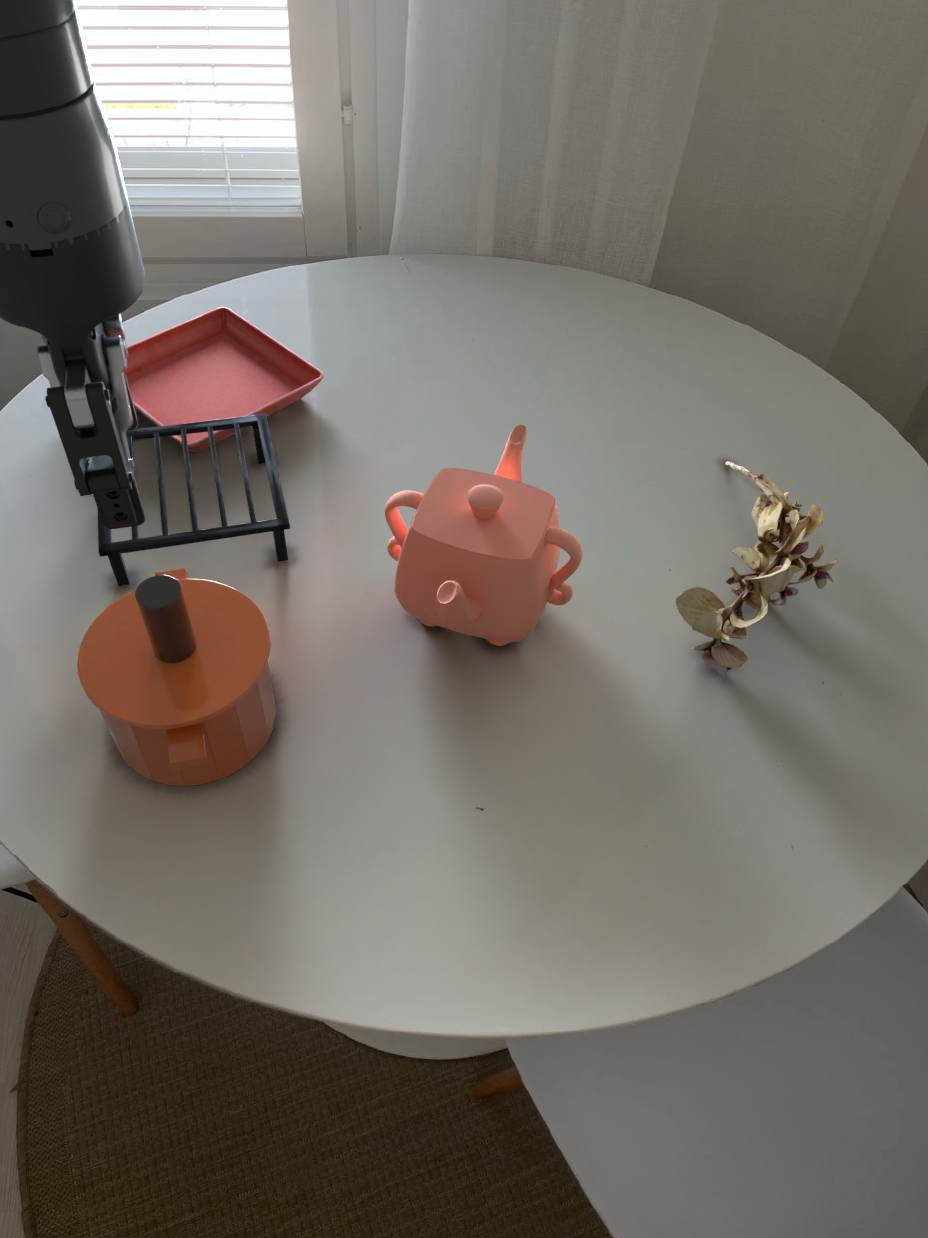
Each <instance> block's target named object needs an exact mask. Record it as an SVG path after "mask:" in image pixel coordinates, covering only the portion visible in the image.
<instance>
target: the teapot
mask: <svg viewBox="0 0 928 1238" xmlns="http://www.w3.org/2000/svg"><path fill="white" fill-rule="evenodd" d="M527 435H528V430H527V427H526V425H524V424H517V425H516V426H515V427H514V428H513V429H512V430H511V432H510V434H509V436H508V439H507V441H506V444H505V446H504V450H503V453H502V455H501V457H500V460H499V463H498V465H497V467H496V469H495V471H494V473H493V474H492V473H488V472H483V471H477V470H471V469H465V468H459V467H445V468H441V469H440V470H439V471H438V472H437V473H436V474H435V476H434V477H433V479H432V480H431V482H430V483H429V485H428V488H427V489H426V491H425V493H422V492H420V491H416V490H409V489H408V490H400V491H398V492H396V493H394V494H393V495H391V496H390V497H389V499H388V500H387V502H386V504H385V506H384V517H385V521H386V523H387V525H388V527H389V530H390V531H391V533H392V535H393V536H392V537H391V538H390V539H389V540H388V542H387V553H388V555H389V556H390V558H392V559H393V560H394V561H396V569H395V577H394V594H395V597H396V599H397V601H398V603H399V604H400V606H401V607H402V608H403V609H404V611H406V612H407V613H409V614H410V615H412V616H414V617H417V619H418V621H419V622H420V623H421V624H422V625H425V626H427V627H440V628H443V629H446V630H449V631H452V632H456V633H459V634H463V635H467V636H471V637H475V638H480V639H481V638H482V639H485V640H486V641H487V642H488V643H490V644H491V645H494V646H498V647H499V646H500V647H501V646H506V645H508V644H510V643H518V642H522V641H525V640H526V639H527V638H528V637H529V635H530V634H531V633H532V632H533V631H534V630H535V628H536V626H537V624H538V622H539V620H540V618H541V616H542V614H543V612H544V610H545V607H546V605H547V603H548V604H549V605H553V606H564V605H566V604H568V603H569V602H570V601H571V599H572V597H573V593H574V589H573V587H572V585H571V584H570V583H569V582H566V581H567V580H568V579H569V578H571V577H572V575H574V573H575V572H576V571H577V570H578V568H579V567H580V565H581V562H582V560H583V548H582V545H581V543H580V541H578V539H577V538H576V537H575V536H574V535H573V534H572V533H570V532H568V531H567V530H565V529H562V528H561V525H560V517H559V511H558V506H557V502H556V498H555V497H554V495H552V494H551V493H549V492H547V491H545V490H544V489H541V488H539V487H536V486H533V485H530V484H528V483H524V482H523V473H522V469H523V468H522V467H523V466H522V465H523V464H522V461H523V453H524V447H525V444H526V440H527ZM399 507H407V508H410V509H414V510H415V511H414V515H413V517H412V519H411V522H410V524H409V527H407V525H406V523H405V522H404V520H403V518H402V516H401V513H400V510H399ZM561 550H563V551H565V552H566V553H567V554H568V555H569V557H570V558H569V559H568V561H566V563H565V564H564V565H562V566H561V568H559V569H558V566H559V561H560V555H561Z"/></svg>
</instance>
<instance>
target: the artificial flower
mask: <svg viewBox="0 0 928 1238" xmlns="http://www.w3.org/2000/svg"><path fill="white" fill-rule="evenodd" d="M724 465H725V466H727V467H730V468H731V469H733V470H736V471H738V472H741V473H742V474H745V475H747V477H749V478H750V479H751V481H753V482H754V483H755V484H756V486H757V487H758V488H759V490H760V491H761V492H762V493H763V494H761V495H759V496H758V497H757V498H756V500H755V501H754V505H753V507H752V510H751V513H750V515H751V518H752V520H753V522H754V525H755V528H756V529H757V540H758V541H756V543H755V544H754V546H753V548H752V547H750V546H737V547H735V548H733V549H732V551H731V553H732V554H733V555H735V556H737V557H738V558H739V559H740V560H741V561H743V562H744V563H745V564H746V566H747V567H748V568H749V569H750V570H751V571H752V572H753V573H745V574H739V572H738V571H737V570H736V569H735V567H734V566H732V567H729V569H730V570H731V571H732V572H733V576H731V577H729V578H728V579H726V580H725V583H726V584H728V585H730V586H731V585H734V584H737V585H738V586H739V587H736V588H729V589H728V590H729V591H731V593H733V594H735V596H737V598H736V599H734V601H733V602H731V603H729V604H728V605H727V606H725V604H724V603H723V601H722V600H721V599H720V598H719V597H718V596H717V595H716V594H715V593H714V592H713V591H711V590H709V589H708V588H705V587H699V586H694V587H691V588H688V589H685V590H684V591H682V592H681V593H680V594H679V595H678V596H677V597H676V598H675V606H676V608H677V610H678V613H679V614H680V617H681V618H682V619H683V620H684V622H685V623H686V624H687V625H689V626H690V627H691V628H692V631H694V632H697V633H699V634H702V635H704V636H706V637H708V638H711V639H712V640H711V641H707V642H704V643H702V644H699V645H697V646H694V647H691V649H692V650H694V651H698V652H701V653H703V655H702V663H703V664H704V665H705V666H706V667H709V668H711V669H714V670H715V671H716V672H717V673H718V674H719V675H720V676H722V677H723V676H726V675H727V673H728V672H729V671H730V670H732V669H738V668H740V667H742V666H743V665H744V664H745V663H746V662H747V661H748V660H750V658H749V657H748V656H747V654H746V653H745V652H744V651H743V650H742V649H740V648H738V647H737V646H735V645H734V644H731V643H729V642H728V641H729V639H731V638H732V639H737V640H744V639H745V640H746V639H747V637H748V636H747V627H749V626H752V625H753V624H755V623H757V622H759V621H760V620H761V619H763V618H764V617H765V616H766V614H767V613H768V609H769V608H768V607H769V606H768V605H769V604H770V603H771V604H772V605H773V606H780V607H785V605H786V604H787V597H795V596H797V594H799V589H798V588H796V587H789V586H792V585H793V586H794V585H799V584H803V583H805V582H808V581H810V580H812V579H813V580H814V582H815V585H816V587H817V589H818V590H822V589H824V588H825V587H826V586H827V584H828V582H827V581H828V580H829V581H830V582H831V583H834V579H833V578H832V576H831V574H830V573H829V572H828V571H830V570H831V569H832V568H833V567H834V566H835V563H837V562H838V561H839V560H837V558H835V560H834V561H830V562H827V563H825V564H821V565H817V566H815V565H814V563H815V562H817V561H819V560H820V559H821V557H822V556H823V555H824V553H825V549H824V545H823V541H821V542H820V544H819V547H818V549H817V550H816V552H815V554H814V555H813V556H812V557H806V556H804V555H803V554H804V553H806V552H807V550H808V549H809V541H808V540H807V541H803V542H801V541H802V540H803V539H805V538H807V537H810V536H811V535H812V534H813V533H815V531H817V529H819V528H820V526H821V525H822V524H823V523H824V518H825V516H824V513H823V510H822V509H821V507H819V505H817V504H812V505H810V507H809V510H808V513H807V514H804V513H801V512H800V511H801V508H802V506H803V504H799V503H798V501H797V500H796V501H795V503H794V504H793V503H791V502H790V500H789V494H790V492H789V491H786V492H784V493H783V492H782V491H781V489H779V487H778V486H777V485H776V484H775V482H773V481H772V480H771V479H770V478H769V477H768V476H767V475H766V474H765V473H760V474H759V475H756V474H755V473H753V472H751V471H750V470H749V469H747V468H746V467H745V466H742V465H738V464H736V463H735V462H733V461H730V460H727V461H725V464H724ZM799 521H800V522H799ZM777 532H779V533H778V535H777ZM776 542H778V544H779V546H778V545H776V544H774V543H776ZM801 561H802V562H803V563H804V565H803V563H802V562H801ZM801 571H803V572H802V574H801V576H800V577H799V579H798V580H797V581H796V582H791V579H792V578H793V576H794V574H796V573H798V572H799V573H800V572H801ZM753 576H755V577H754V578H747V577H753ZM827 579H828V580H827ZM776 593H778V594H779V598H775V599H771V596H772V595H774V594H776ZM743 603H744V604H745V605H746V606H748V607H750V608H751V609H753V610H756V611H757V612H758V614H757V615H756V617H754V618H752V619H749V620H745V618H744V614H743V610H742V606H743ZM722 640H723V641H722ZM725 641H727V642H725Z"/></svg>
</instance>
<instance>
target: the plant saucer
mask: <svg viewBox="0 0 928 1238" xmlns="http://www.w3.org/2000/svg"><path fill="white" fill-rule="evenodd" d="M127 351H128V358H127V369H126V371H125V374H126V378H127V381H128V385H129V389H130V392H131V396H132V400H133V404H134V407H135V410H137V411H138V412H139V413H141V414H142V415H143V416H144V417H145V418H147V419H148V420H149V421H151V423H153V424H154V425H155V426H156V427H159V426H167V425H176V424H184V423H193V422H201V421H209V420H218V419H226V418H235V417H243V416H251V415H260V414H266V416H267V417H269V416H271V415H272V414H274V413H276V412H278V411H280V410H283V409H284V408H286V407H288V406H290V405H291V404H294V403H296V402H297V401H299V400H301V399H303V398H304V397H305V396H307V395H308V394H309V393H310V392H311V391H313V390H315V388H316V387H317V386H318V385H319V384H320V383H321V381H322V380H323V379H324V378H325V373H324V372H323V371H322V370H320V369H319V368H318V367H316V366H315V365H313V364H312V363H310V362H309V361H307V360H305V358H303V357H302V356H300V355H298V354H297V353H296V352H294V351H293V350H292V349H289V348H288V347H286V346H285V345H284V344H282V343H280V342H279V341H278V340H276V339H275V338H274V337H272V336H270V335H269V334H268V333H266V332H265V331H263V330H261V329H260V328H259V327H257V326H256V325H254V324H253V323H251V322H250V321H248V320H247V319H245V318H244V317H242V316H241V315H240V314H238V313H237V312H235V311H234V310H232V309H231V308H229V307H228V306H227V307H226V306H219V307H217V308H215V309H212V310H209V311H207V312H205V313H203V314H200V315H198V316H195V317H193V318H190V319H188V320H186V321H185V322H181V323H179V324H177V325H175V326H172V327H170V328H167V329H165V330H163V331H160V332H158V333H156V334H153V335H152V336H148V337H146V338H144V339H141V340H140V341H138V342H135V343H133V344H130V345H129V346H128V345H127ZM244 429H247V427H242V428H240V431H242V430H244ZM213 433H214V439H215V444H217V443H219V442H221V441H223V440H225V439H227V438H228V437H231V436H232V435H235V430H234V428H233V429H225V430H217V431H213ZM169 437H170V438H172V439H173V440H174V441H175V442H177V444H179V446H181V447H182V439H181V435H176V436H169ZM187 441H188V449H189V452H193V453H200V452H202V451H204V450H206V449H207V448H210V443H209V437H208V432H200V433H192V434H187Z"/></svg>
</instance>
